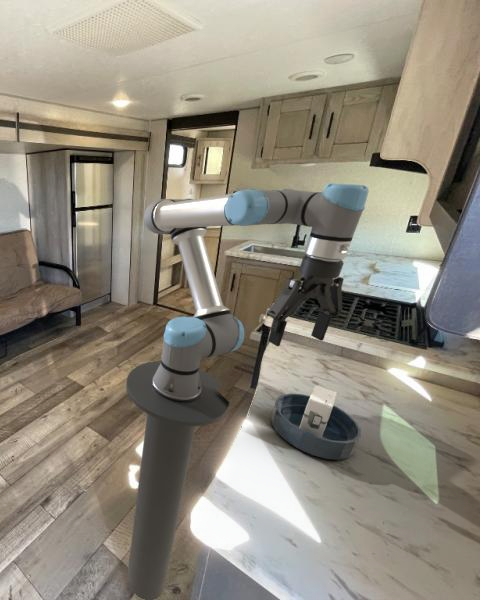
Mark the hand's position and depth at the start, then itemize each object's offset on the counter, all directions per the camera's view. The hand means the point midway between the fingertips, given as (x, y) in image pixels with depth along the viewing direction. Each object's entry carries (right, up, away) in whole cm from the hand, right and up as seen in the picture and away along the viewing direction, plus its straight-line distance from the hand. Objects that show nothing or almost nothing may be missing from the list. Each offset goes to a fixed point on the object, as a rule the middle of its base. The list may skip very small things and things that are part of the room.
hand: (295, 340), depth 80 cm
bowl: (+7, -25, +6) cm, 27 cm away
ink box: (+8, -25, +5) cm, 27 cm away
